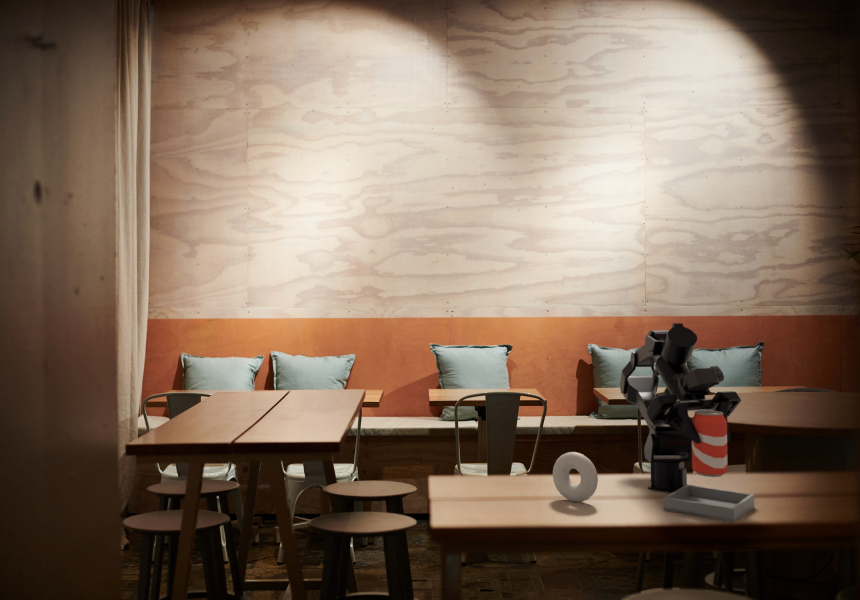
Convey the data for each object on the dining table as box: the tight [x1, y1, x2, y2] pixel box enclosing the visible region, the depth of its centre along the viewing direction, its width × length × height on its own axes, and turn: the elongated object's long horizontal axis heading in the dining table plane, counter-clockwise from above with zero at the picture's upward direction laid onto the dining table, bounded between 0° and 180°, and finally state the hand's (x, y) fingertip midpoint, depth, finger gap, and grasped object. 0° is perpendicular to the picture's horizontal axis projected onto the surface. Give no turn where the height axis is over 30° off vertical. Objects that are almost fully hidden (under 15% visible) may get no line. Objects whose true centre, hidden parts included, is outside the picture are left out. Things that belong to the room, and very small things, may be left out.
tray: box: [662, 484, 755, 524], centre depth 134 cm, size 13×13×2 cm
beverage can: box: [691, 410, 729, 478], centre depth 134 cm, size 6×6×12 cm
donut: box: [552, 451, 599, 503], centre depth 140 cm, size 10×4×10 cm, turn 47°
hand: (713, 441), depth 133 cm, fingers closed on beverage can, 6 cm apart
